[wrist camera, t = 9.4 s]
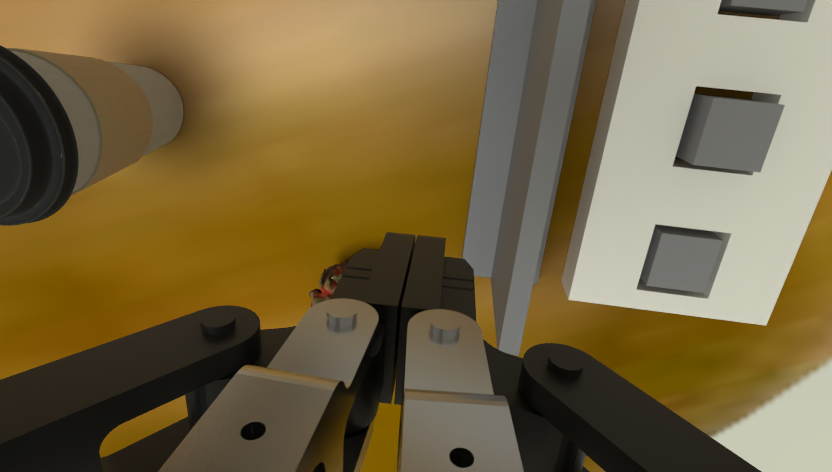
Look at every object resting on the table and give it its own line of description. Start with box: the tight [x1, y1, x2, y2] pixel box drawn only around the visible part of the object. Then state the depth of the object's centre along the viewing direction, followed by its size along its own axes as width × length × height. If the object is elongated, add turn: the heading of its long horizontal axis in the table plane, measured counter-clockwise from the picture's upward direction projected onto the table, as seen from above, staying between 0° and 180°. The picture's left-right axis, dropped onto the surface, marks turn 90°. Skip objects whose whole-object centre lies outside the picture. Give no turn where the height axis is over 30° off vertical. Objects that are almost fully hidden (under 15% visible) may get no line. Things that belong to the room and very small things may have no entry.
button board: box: [561, 0, 832, 325], centre depth 31 cm, size 26×14×3 cm, turn 175°
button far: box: [640, 224, 723, 293], centre depth 34 cm, size 4×4×3 cm
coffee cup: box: [0, 46, 184, 225], centre depth 29 cm, size 9×9×15 cm
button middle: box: [676, 94, 785, 172], centre depth 30 cm, size 4×4×3 cm
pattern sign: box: [462, 0, 596, 356], centre depth 28 cm, size 26×6×11 cm, turn 175°
